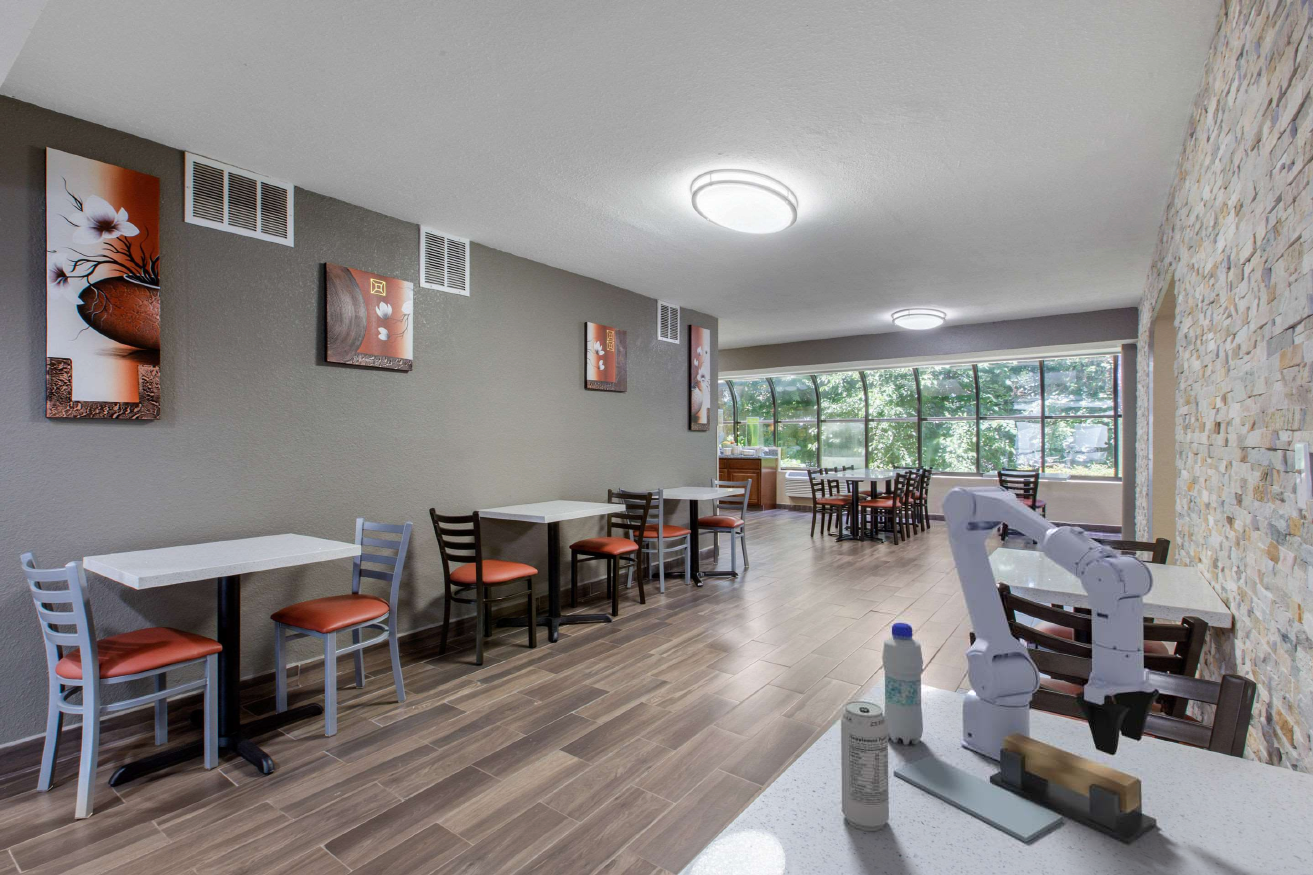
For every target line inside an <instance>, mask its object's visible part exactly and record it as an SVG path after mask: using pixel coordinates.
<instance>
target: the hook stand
mask: <svg viewBox="0 0 1313 875" xmlns="http://www.w3.org/2000/svg"><path fill="white" fill-rule="evenodd" d="M999 763H1000V764H999V766H1000V771H998V772H996V773H994V774H992V775H989V783H991V784H993V785H995V786H997V787H1000V788H1002V789H1004V790H1006V791H1008V792H1011V793H1013V794H1015V795H1017V796H1019V797H1021V798H1024V799H1026V800H1028V801H1030V802H1032V803H1035V804H1037V805H1039V806H1041V807H1043V808H1045V809H1048V810H1050V811H1052V812H1054V813H1056V814H1059V815H1061V816H1064V817H1066V818H1068V819H1070V820H1073V821H1075V822H1077V823H1079V824H1082V825H1084V826H1086V827H1088V828H1090V829H1093V830H1094V831H1098V832H1100V833H1102V834H1103V835H1106V836H1108V837H1111V838H1112V839H1115V840H1117V841H1119V842H1121V843H1124V844H1126V845H1130V844H1132V843H1134V842H1135V841H1136V840H1137V839H1139V838H1140V837H1142V836H1143V835H1145V834H1146V833H1148V832H1149V831H1150V830H1152V829H1153V828H1155V827H1156V826H1157V819H1156V818H1155V817H1152V816H1149V815H1148V814H1144V813H1143V806H1142V805H1143V802H1142V796H1143V794H1142V780H1141V779H1139V806H1138V807H1136V808H1134V809H1133V810H1131V811H1130V812H1128V813H1125V812H1123V811H1121V810H1120V797H1119V793H1117V792H1114V791H1112V790H1109V789H1107V788H1104V787H1102V786H1099V785H1097V784H1094V783H1093V784H1091V785H1090V786H1089V797H1087V796H1085V795H1082V794H1080V793H1078V792H1075V791H1073V790H1071V789H1068V788H1066V787H1063V786H1061V785H1059V784H1056V783H1054V782H1052V781H1049V780H1047V779H1044V778H1042V777H1040V776H1037V775H1035V774H1032V773H1030V772H1028V771H1025V755H1022V754H1020V753H1017V752H1015V751H1012V750H1010V749H1007V748H1003V749H1000V761H999Z"/></svg>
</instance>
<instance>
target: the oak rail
mask: <svg viewBox="0 0 1313 875" xmlns="http://www.w3.org/2000/svg"><path fill="white" fill-rule="evenodd" d="M1004 748H1007V749H1010V750H1012V751H1015V752H1017V753H1020V754H1022V755H1025V771H1028V772H1030V773H1032V774H1035V775H1037V776H1040V777H1042V778H1044V779H1047V780H1049V781H1052V782H1054V783H1056V784H1059V785H1061V786H1063V787H1066V788H1068V789H1071V790H1073V791H1075V792H1078V793H1080V794H1082V795H1085V796H1087V797H1089V786H1090V785H1091V784H1093V783H1094V784H1097V785H1099V786H1102V787H1104V788H1107V789H1109V790H1112V791H1114V792H1117V793H1119V797H1120V810H1121V811H1123V812H1125V813H1128V812H1130V811H1131V810H1133V809H1134V808H1136V807H1138V806H1139V780H1140V779H1139V777H1136V776H1133V775H1130V774H1128V773H1125V772H1122V771H1119V770H1117V769H1114V768H1112V767H1108V766H1107V765H1104V764H1101V763H1098V762H1095V761H1094V760H1090V759H1087V758H1085V757H1082V756H1079V755H1076V754H1075V753H1072V752H1069V751H1066V750H1063V749H1061V748H1058V747H1055V746H1053V745H1050V744H1048V743H1044V742H1042V741H1039V740H1037V739H1034V738H1032V737H1030V738H1029V737H1026V736H1024V735H1021V734H1018V733H1016V734H1013V735H1011V736H1009V737H1006V738H1004Z"/></svg>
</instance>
